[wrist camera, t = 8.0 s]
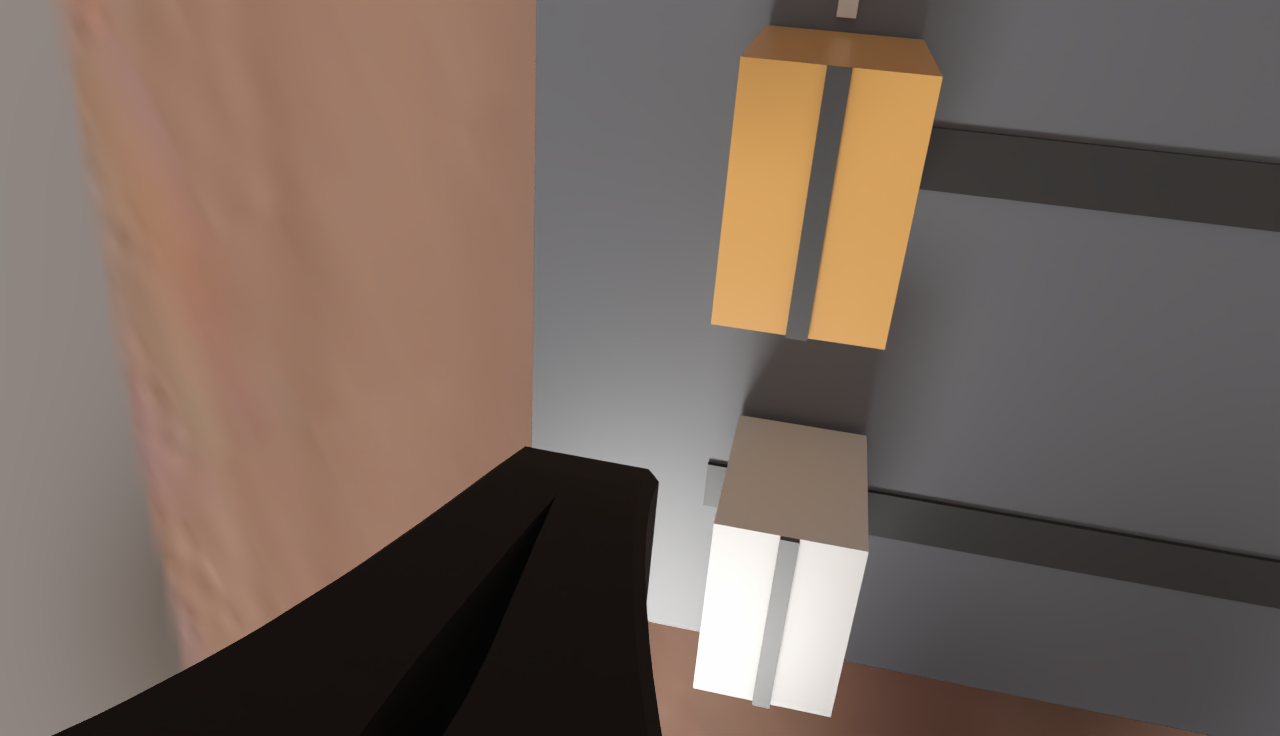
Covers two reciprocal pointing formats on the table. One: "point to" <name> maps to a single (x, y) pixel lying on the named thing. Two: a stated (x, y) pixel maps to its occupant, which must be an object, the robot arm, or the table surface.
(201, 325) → the table surface
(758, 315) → the orange fader
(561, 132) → the console
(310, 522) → the table surface
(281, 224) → the table surface
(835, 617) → the block
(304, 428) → the table surface
